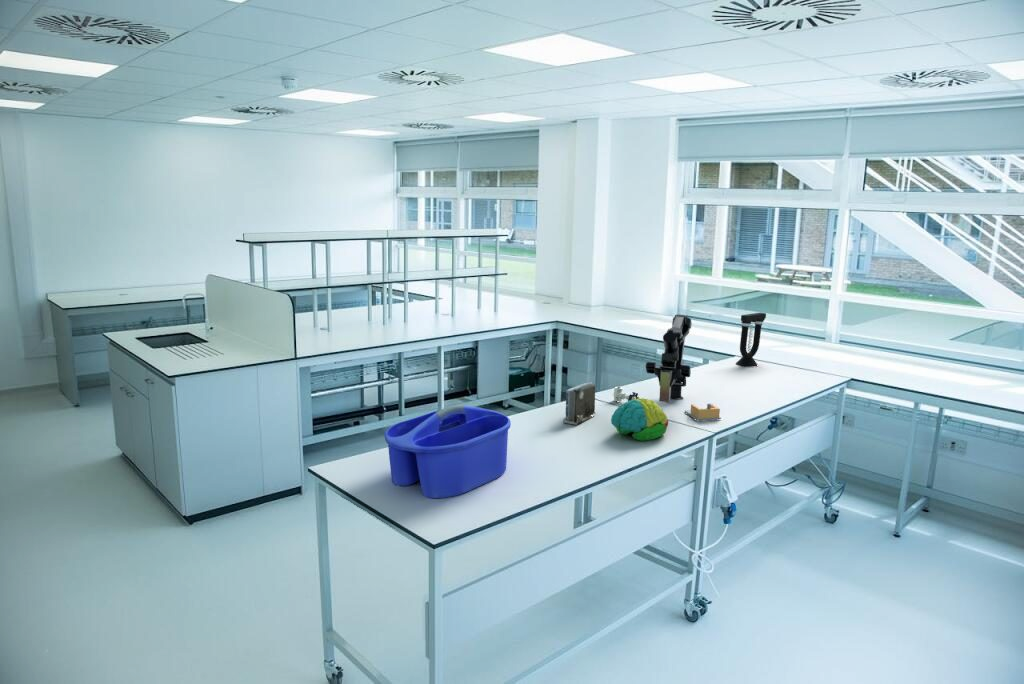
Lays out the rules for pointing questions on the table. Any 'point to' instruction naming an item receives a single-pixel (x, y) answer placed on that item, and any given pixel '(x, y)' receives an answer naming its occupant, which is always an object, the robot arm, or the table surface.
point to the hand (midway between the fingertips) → (665, 386)
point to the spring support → (746, 321)
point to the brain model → (640, 419)
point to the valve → (623, 395)
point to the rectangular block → (665, 385)
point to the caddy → (449, 450)
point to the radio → (580, 403)
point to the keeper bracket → (704, 412)
